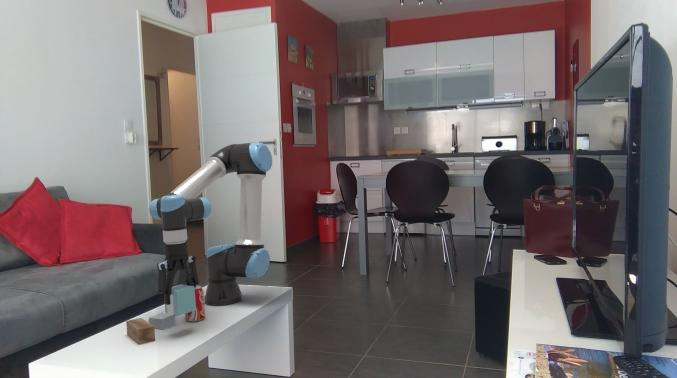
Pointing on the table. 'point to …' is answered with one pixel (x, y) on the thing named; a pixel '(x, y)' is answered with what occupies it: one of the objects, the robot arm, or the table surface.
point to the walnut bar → (140, 331)
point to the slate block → (162, 321)
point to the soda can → (197, 306)
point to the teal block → (183, 299)
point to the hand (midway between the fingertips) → (180, 310)
